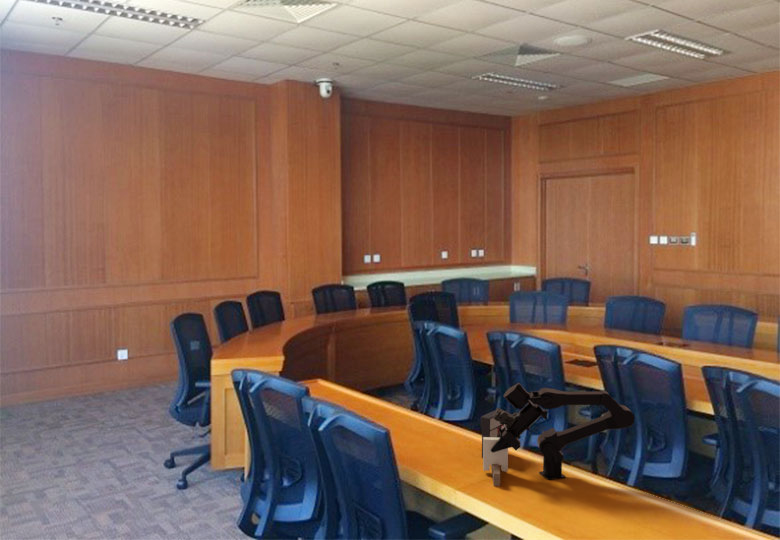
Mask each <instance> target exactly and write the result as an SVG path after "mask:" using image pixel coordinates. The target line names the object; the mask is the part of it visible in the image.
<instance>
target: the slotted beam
mask: <svg viewBox="0 0 780 540" xmlns="http://www.w3.org/2000/svg"><path fill="white" fill-rule="evenodd" d="M490 468H491V476H492V482H493V483H492V485H493V486H494V487H500V486H501V468H500V465H499V464H492V465H490Z"/></svg>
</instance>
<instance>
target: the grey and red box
mask: <svg viewBox="0 0 780 540" xmlns="http://www.w3.org/2000/svg"><path fill="white" fill-rule="evenodd" d="M495 411H496V409H495V410H493V411H491V412H488V413H486V414H484V415H481V417H480V428H481V458H482V459H483V437H497V436H498V434H499V426H500V427H502V426H503V425H502V424H500V423H499V421H496V420H495V419H494V417H493V415H494V413H495Z"/></svg>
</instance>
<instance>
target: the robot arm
mask: <svg viewBox="0 0 780 540" xmlns="http://www.w3.org/2000/svg"><path fill="white" fill-rule="evenodd" d="M503 398H504V399H505V400H506V401H507V402H508V403H509V404H511V405H512V407H513V408H514V409H519V411H518V413H517V412H514V413H513V414H511V412H510V413H509V412H508V411H505V410H504V409H501V408H499V407H496V409H495V410H496V411H495V410H494V411H495V413H494V415H493V417H494V419H495V420H496V421H499V423H500V424H502V425H503V426H502V427H500V426H499V434H498V436H497V438H499V440H498V441H497V442H496V443H495V445H494V446H493V447H492V449H491V452H492V453H494V452H497V451H500V450H503V449H507V448H508V449H510V448H512V449H513V450H514V451H517V450H519V448H521V441H520V439H521V438H522V437H521V436H522V434H523V433H525V431H529V430H530V429H531V428H530V427H531V426H532V425H533V424H534V423H535V422H537V420H539V418H541V417H542V418H543V419H544V420H546V421H547V420H548V413H549V412H548V410H552V409H553V410H554V409H559V408H561V407H564V406H604V407H605V408H606V409H607V412H605V413H604V414H603V415H601V416H599V417H596V418H595V419H594V418H593V419H590V420H589V421H586V422H583V423H580V424H578V425H576V426H573V427H570V428H567V429H565V430H559V431H557V430H556V428H555V427H552V428H549V429H548V430H542V433H541V434H539V435H538V437H537V439H536V442H537V443H536V444H537V447H538V449H539V452H540V453H541V454H542V455H543V458H542V459H543V460H542V463H543V464H542V465H543V466H542V471H541V470H540V471H539V472H538V473H539V474H540V475H541V476H543V477H544V478H546V479H547V480H550V481H551V480H559V479H565V478H566V477H567V475H565V474H563V472H562V471H563V467H562V466H563V460H564V454H563V452H562V450H563V449H564V448H565V447H566V446H567V445H570V444H572V443H574V442H578V441H580V440H583V439H586V438H588V437H591V436H593V435H597V434H599V433H603V432H604V431H608V430H620V429H621V430H622V429H627V428H630V427H633V425H634V423H635V420H636V417H635V414H634V413H633V412H632V411H631V410H630V409H629V408H628V407H627V406H625V405H623V404H619V403H618V402H617V401H616V400H615V399H614V398H613V397H612V396H611V395H610V393H609V392H607V391H605V390H600V391H564V390H559V389H554V388H549V387H543V388H540V389H539V390H537V391H529V392H528V391H527V390H526V389H525V388H524V387H523V386H522V384H521V383H520V382H517V383H516V384H514V385H513V386H511V387H509V388H508V389H507V390H506V391H505V393H504V394H503Z"/></svg>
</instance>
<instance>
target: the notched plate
mask: <svg viewBox="0 0 780 540" xmlns="http://www.w3.org/2000/svg"><path fill="white" fill-rule="evenodd" d="M498 440H499V438H497V437H483V458H482V468H483V469H482V470H483V471H487V472H488V471H490V468H491V465H492V464H499V466H500V471H501V472H509V470H508V469H509V468H508V467H509V458H508V457H509V448H507V449H503V450H500V451H497V452H494V453H492V452H491V449H492V447H493V446H494V445H495V443H496V442H497V441H498Z"/></svg>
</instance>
